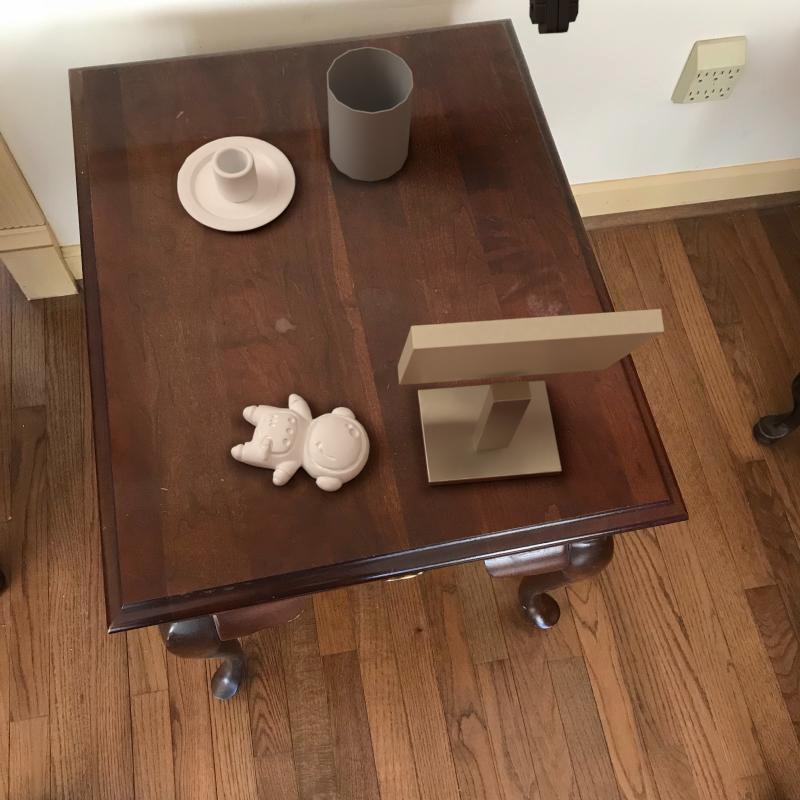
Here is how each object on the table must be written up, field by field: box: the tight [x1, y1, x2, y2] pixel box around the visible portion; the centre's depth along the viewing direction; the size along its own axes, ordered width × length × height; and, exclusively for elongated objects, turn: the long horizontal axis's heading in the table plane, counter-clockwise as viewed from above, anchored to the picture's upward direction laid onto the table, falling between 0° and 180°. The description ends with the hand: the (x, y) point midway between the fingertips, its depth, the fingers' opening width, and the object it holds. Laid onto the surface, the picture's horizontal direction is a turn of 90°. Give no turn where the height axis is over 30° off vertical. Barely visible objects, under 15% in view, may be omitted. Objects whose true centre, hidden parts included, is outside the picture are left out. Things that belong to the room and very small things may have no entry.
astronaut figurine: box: [230, 393, 370, 492], centre depth 74 cm, size 9×12×3 cm
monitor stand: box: [416, 380, 563, 487], centre depth 71 cm, size 9×12×12 cm
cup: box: [326, 46, 414, 183], centre depth 85 cm, size 8×8×10 cm
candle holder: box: [176, 135, 296, 232], centre depth 85 cm, size 12×12×4 cm
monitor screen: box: [397, 308, 665, 386], centre depth 62 cm, size 2×17×13 cm, turn 96°
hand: (553, 32), depth 54 cm, fingers closed
